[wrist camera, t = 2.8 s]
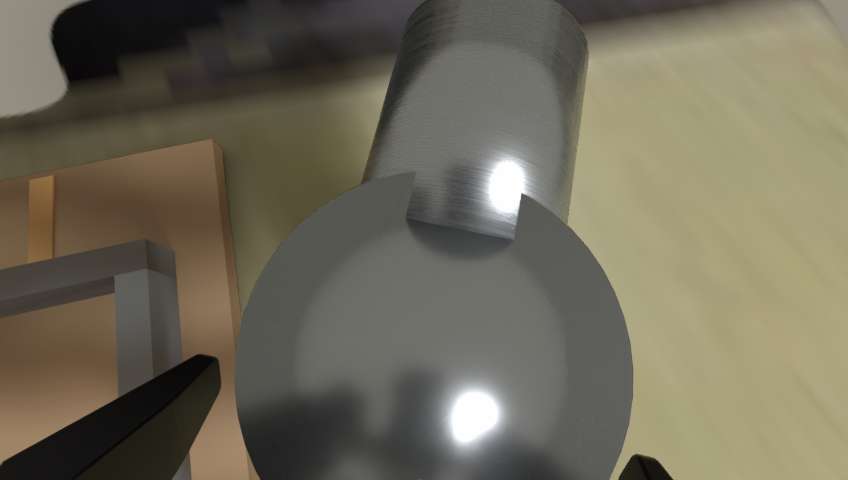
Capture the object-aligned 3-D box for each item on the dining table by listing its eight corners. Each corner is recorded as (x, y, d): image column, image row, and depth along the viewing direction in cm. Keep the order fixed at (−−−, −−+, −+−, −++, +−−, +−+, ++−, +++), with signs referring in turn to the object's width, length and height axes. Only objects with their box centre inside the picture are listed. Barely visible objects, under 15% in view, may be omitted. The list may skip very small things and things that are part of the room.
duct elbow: (484, 455, 17) (622, 649, 5) (337, 421, 17) (164, 531, 6) (522, 221, 20) (666, 10, 8) (395, 195, 20) (358, -43, 8)
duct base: (271, 578, 16) (237, 625, 13) (-166, 698, 15) (-308, 778, 12) (221, 149, 21) (189, 114, 18) (-109, 215, 20) (-199, 190, 17)
